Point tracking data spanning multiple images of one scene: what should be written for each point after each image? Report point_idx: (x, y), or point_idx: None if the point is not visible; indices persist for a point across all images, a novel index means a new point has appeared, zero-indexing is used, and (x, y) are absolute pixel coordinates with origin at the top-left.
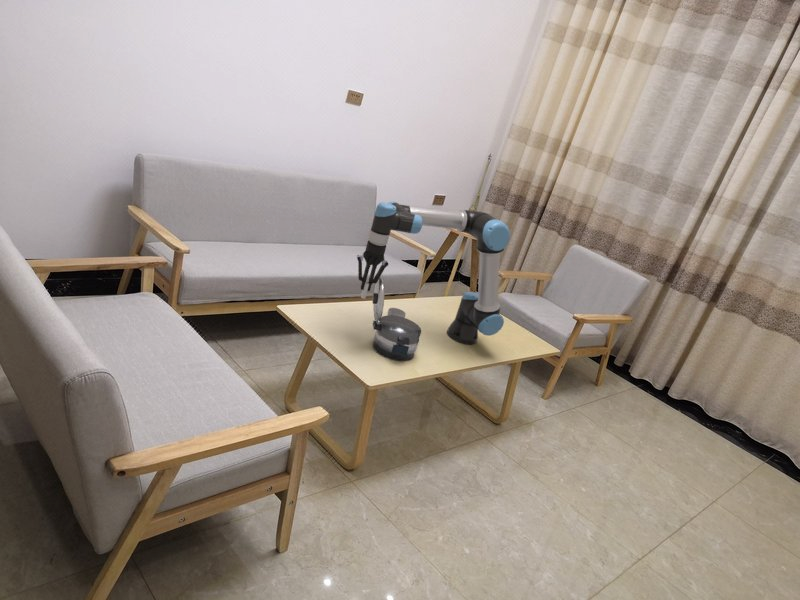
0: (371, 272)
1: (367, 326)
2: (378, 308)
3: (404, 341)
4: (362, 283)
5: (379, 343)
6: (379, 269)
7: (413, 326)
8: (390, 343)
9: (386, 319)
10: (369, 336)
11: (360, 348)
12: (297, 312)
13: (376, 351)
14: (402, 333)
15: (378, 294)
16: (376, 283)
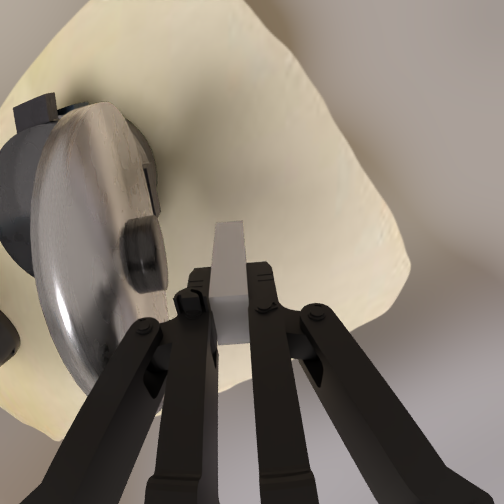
0: (209, 420)
1: None
2: (114, 138)
3: (30, 100)
4: (274, 297)
5: None
6: (119, 470)
7: (13, 232)
8: None
9: None
10: (172, 232)
11: (198, 131)
12: (386, 279)
13: (142, 135)
14: (32, 137)
15: (114, 239)
16: None
